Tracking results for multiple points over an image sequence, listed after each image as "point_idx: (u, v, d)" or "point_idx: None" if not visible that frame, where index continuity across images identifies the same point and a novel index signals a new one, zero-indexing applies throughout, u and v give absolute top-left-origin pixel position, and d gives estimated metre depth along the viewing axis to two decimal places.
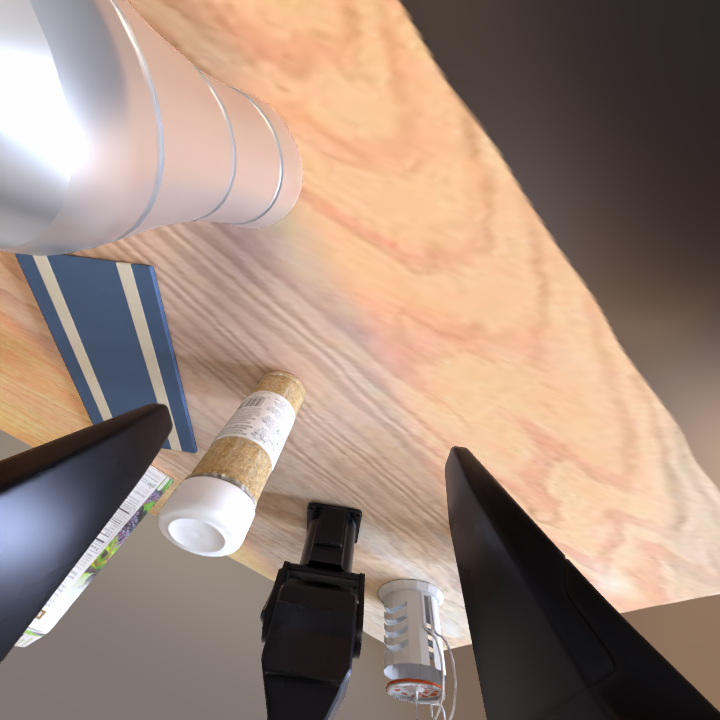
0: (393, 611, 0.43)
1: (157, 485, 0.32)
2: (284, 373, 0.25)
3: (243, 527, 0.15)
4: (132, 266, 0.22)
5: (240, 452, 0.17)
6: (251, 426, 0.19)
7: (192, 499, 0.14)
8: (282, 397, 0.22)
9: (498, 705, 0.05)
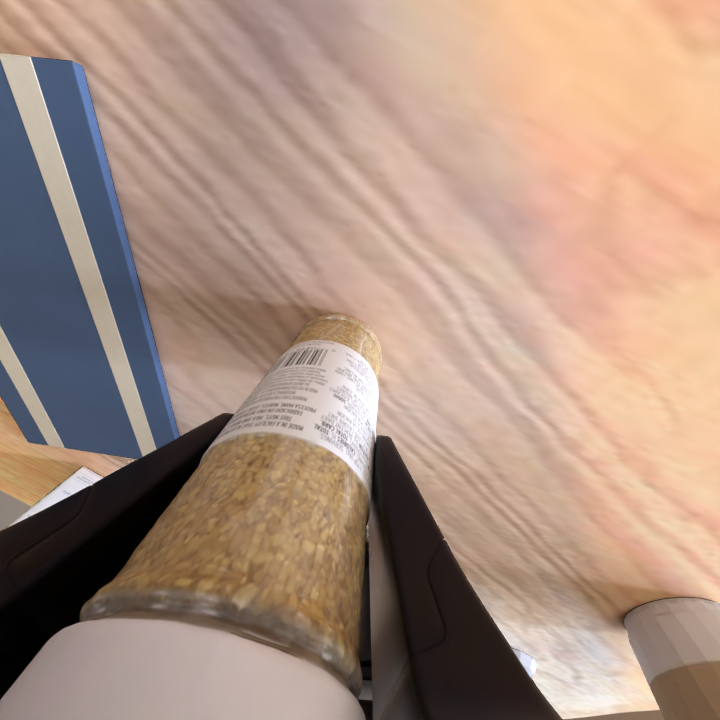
0: None
1: None
2: (348, 317, 0.13)
3: None
4: (36, 64, 0.10)
5: (296, 487, 0.05)
6: (312, 407, 0.07)
7: None
8: (359, 354, 0.10)
9: (377, 684, 0.05)
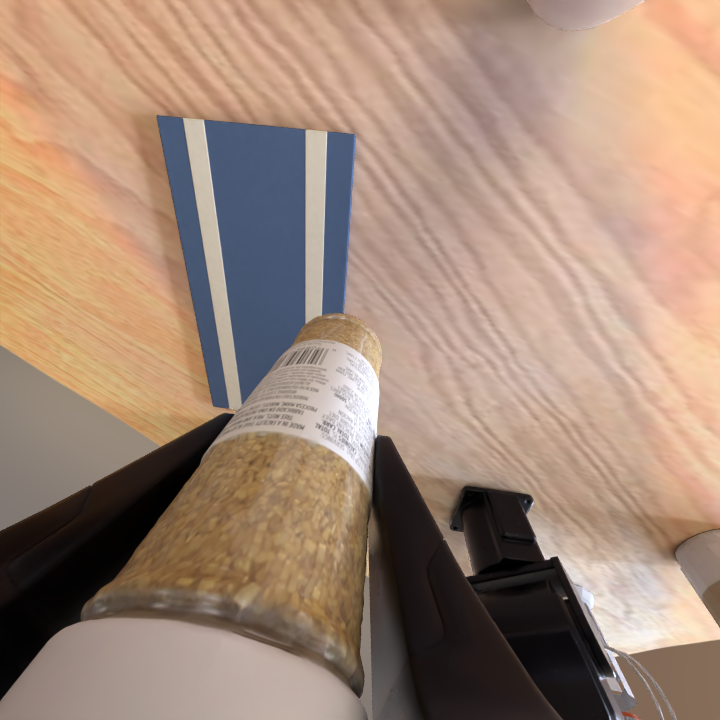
0: None
1: None
2: (349, 316, 0.13)
3: None
4: (327, 136, 0.15)
5: (297, 486, 0.05)
6: (313, 407, 0.07)
7: None
8: (360, 353, 0.10)
9: (376, 684, 0.05)
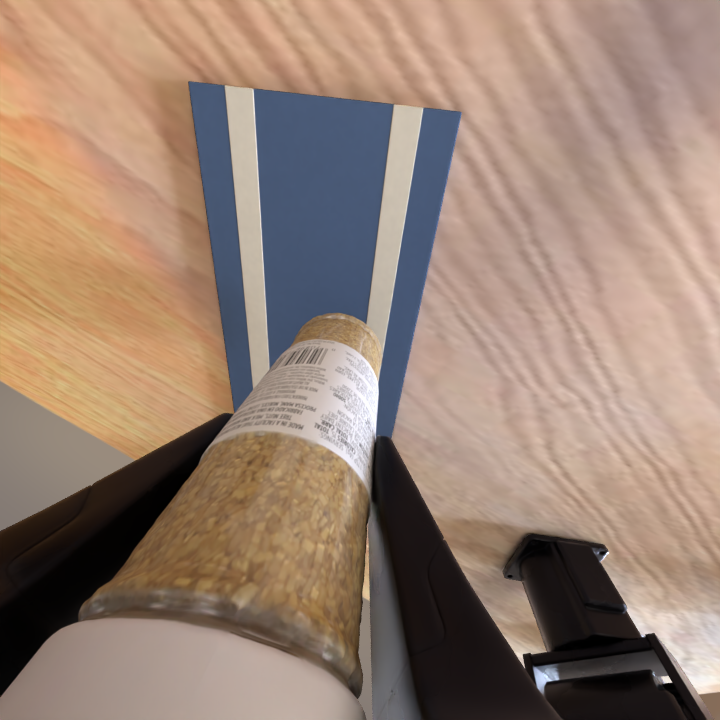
0: None
1: None
2: (348, 316, 0.13)
3: None
4: (422, 114, 0.11)
5: (296, 486, 0.05)
6: (312, 407, 0.07)
7: None
8: (359, 353, 0.10)
9: (376, 684, 0.05)
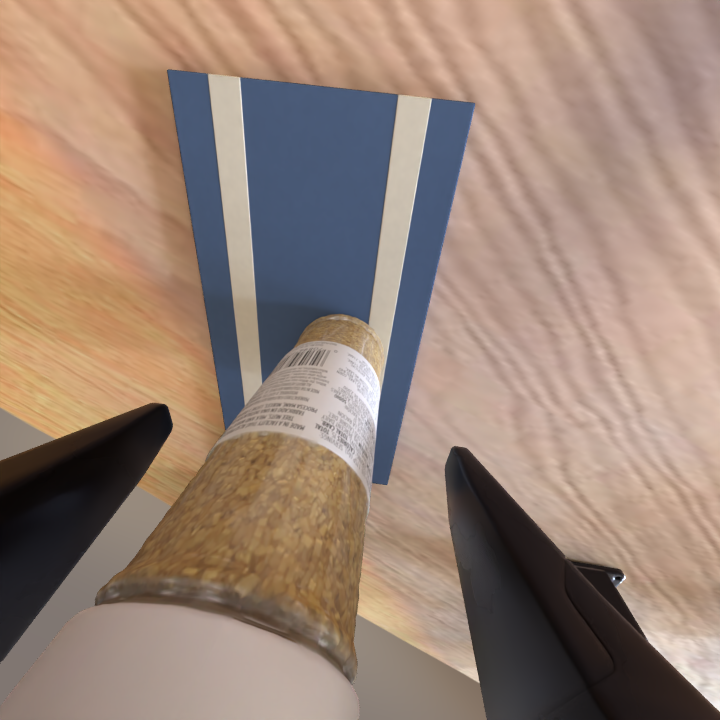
0: None
1: None
2: (351, 317, 0.13)
3: None
4: (430, 105, 0.10)
5: (296, 484, 0.05)
6: (313, 408, 0.07)
7: None
8: (361, 355, 0.11)
9: (498, 705, 0.05)
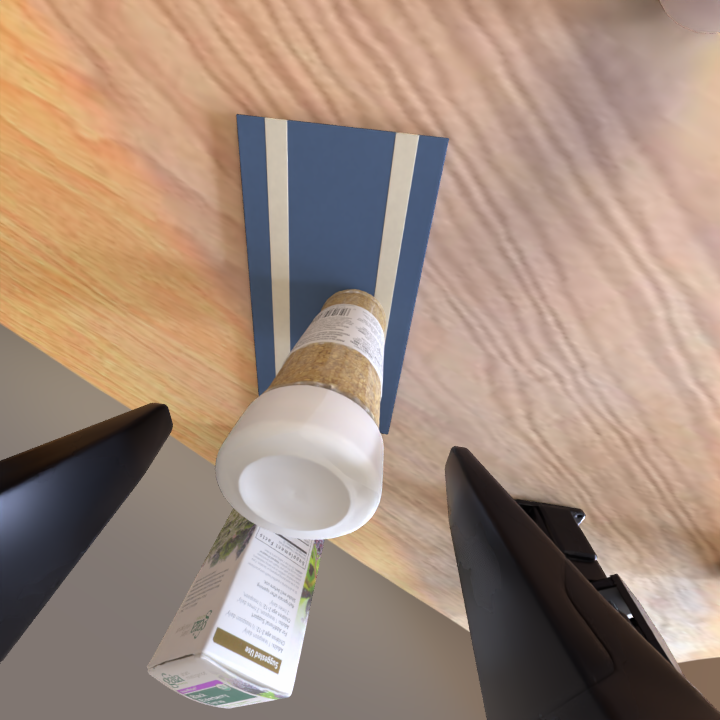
0: None
1: None
2: (361, 291, 0.18)
3: (381, 481, 0.07)
4: (418, 139, 0.14)
5: (345, 361, 0.10)
6: (347, 334, 0.12)
7: (294, 416, 0.07)
8: (371, 313, 0.15)
9: (498, 705, 0.05)
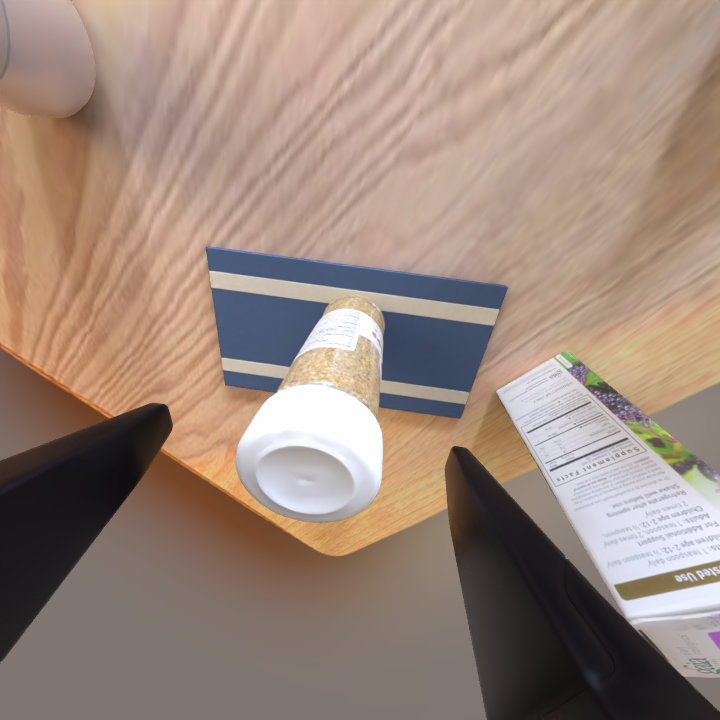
0: None
1: (562, 367, 0.19)
2: (322, 316, 0.20)
3: (295, 410, 0.08)
4: (212, 270, 0.19)
5: None
6: None
7: None
8: (319, 320, 0.17)
9: (498, 705, 0.05)
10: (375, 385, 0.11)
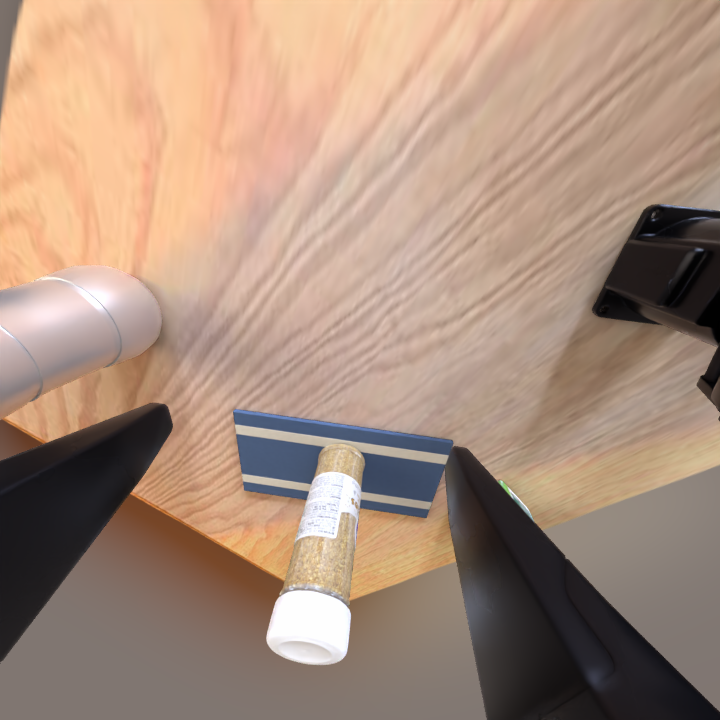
0: None
1: None
2: None
3: (299, 621, 0.15)
4: (237, 423, 0.26)
5: (290, 560, 0.18)
6: (298, 529, 0.20)
7: None
8: (315, 477, 0.23)
9: (498, 705, 0.05)
10: (349, 563, 0.18)
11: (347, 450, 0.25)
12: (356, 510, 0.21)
